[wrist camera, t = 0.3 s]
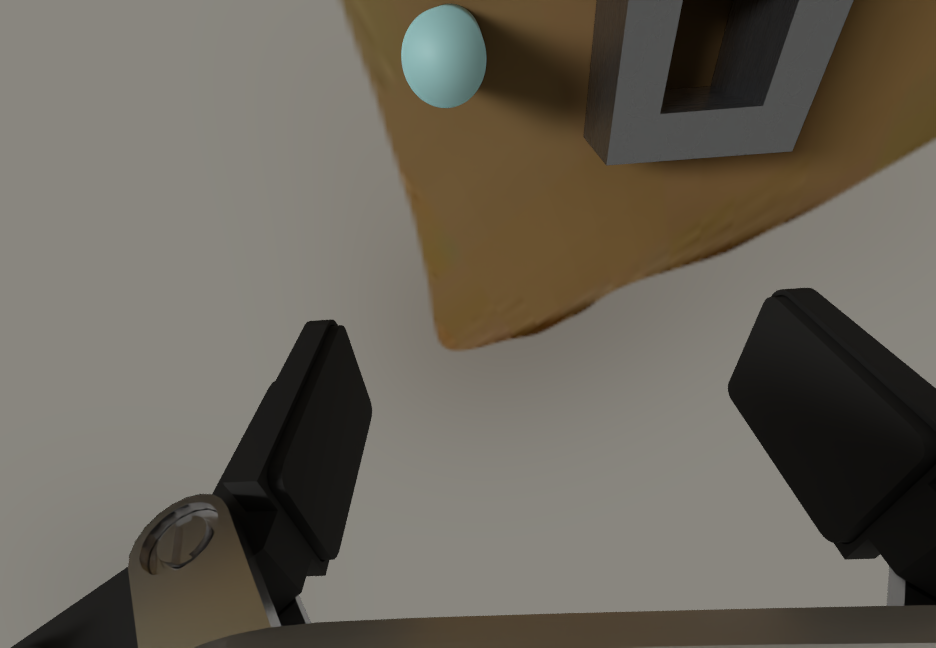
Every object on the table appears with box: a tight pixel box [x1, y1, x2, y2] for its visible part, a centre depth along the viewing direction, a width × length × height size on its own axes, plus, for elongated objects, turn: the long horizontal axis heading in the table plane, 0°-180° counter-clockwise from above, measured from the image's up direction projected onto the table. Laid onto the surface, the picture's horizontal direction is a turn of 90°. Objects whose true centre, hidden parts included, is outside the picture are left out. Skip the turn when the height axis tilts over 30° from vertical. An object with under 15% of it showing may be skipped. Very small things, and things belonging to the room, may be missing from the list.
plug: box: [401, 4, 487, 108], centre depth 25 cm, size 4×4×10 cm
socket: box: [584, 0, 853, 165], centre depth 26 cm, size 12×12×7 cm
